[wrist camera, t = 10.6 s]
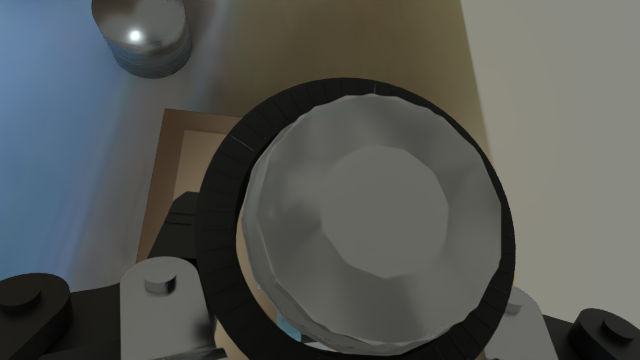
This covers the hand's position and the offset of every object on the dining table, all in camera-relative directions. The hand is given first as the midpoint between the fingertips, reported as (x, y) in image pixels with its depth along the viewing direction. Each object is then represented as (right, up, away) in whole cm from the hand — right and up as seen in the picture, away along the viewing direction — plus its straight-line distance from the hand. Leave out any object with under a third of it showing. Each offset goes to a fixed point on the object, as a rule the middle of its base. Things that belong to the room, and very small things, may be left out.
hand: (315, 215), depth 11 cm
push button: (-1, -3, +4) cm, 5 cm away
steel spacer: (-9, +8, +10) cm, 16 cm away
